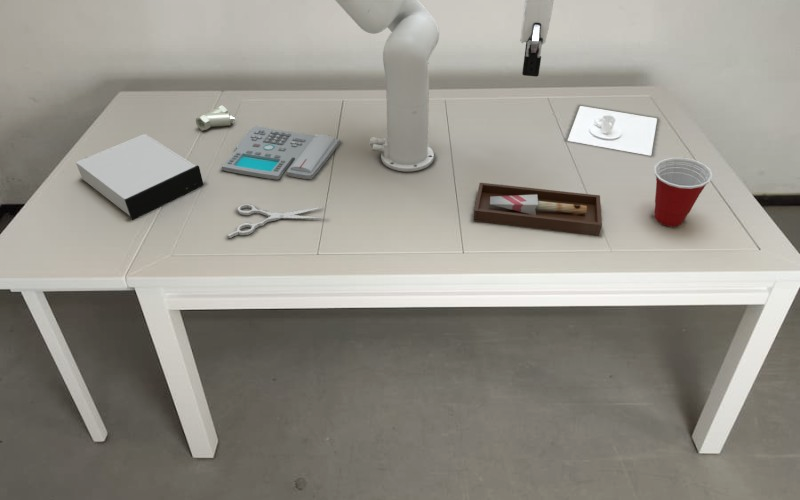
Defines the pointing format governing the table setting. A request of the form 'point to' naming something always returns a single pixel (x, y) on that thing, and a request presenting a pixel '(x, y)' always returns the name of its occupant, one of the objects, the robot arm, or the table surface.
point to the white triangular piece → (614, 130)
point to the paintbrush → (534, 204)
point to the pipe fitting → (215, 118)
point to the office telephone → (280, 153)
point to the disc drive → (140, 175)
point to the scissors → (271, 217)
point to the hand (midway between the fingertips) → (531, 65)
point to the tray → (543, 218)
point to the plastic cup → (678, 188)
